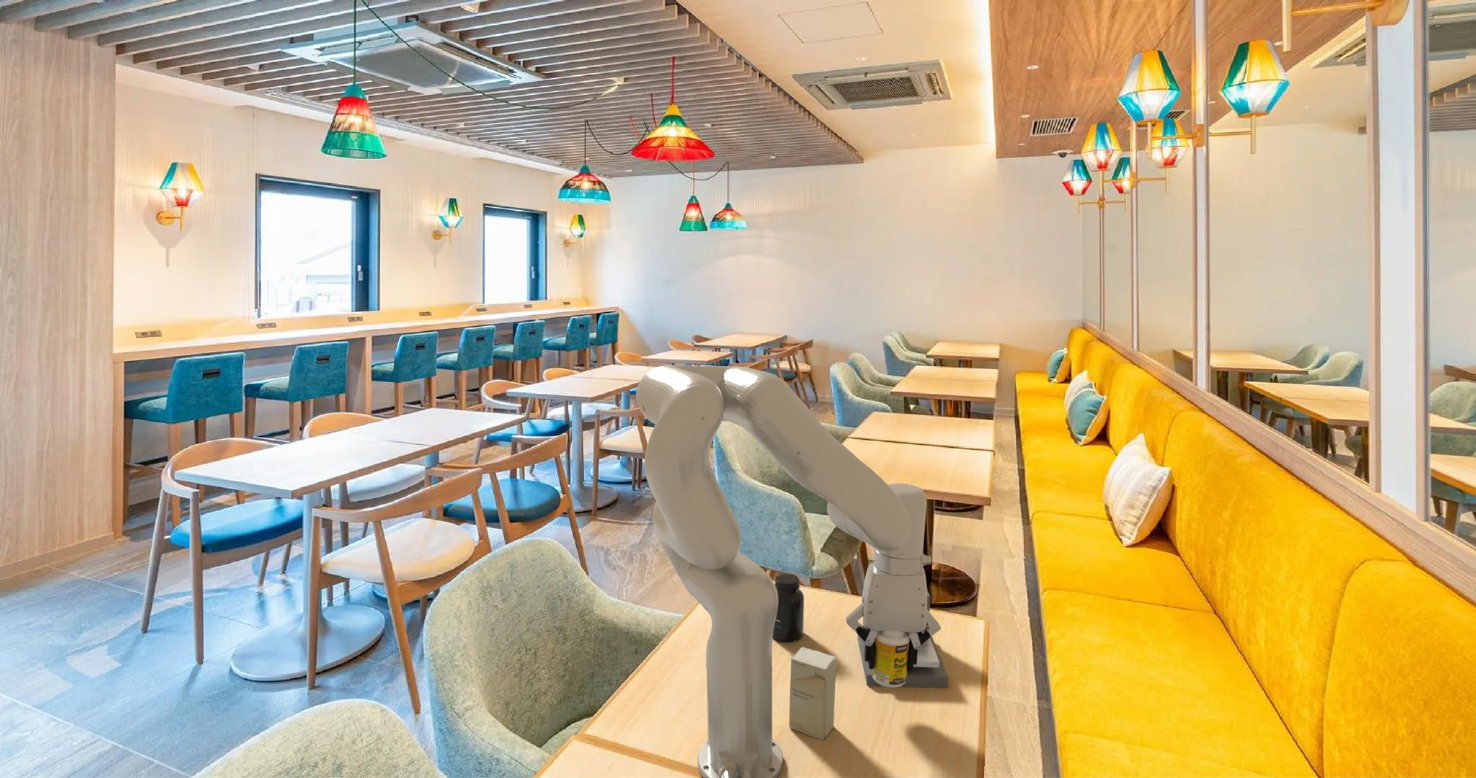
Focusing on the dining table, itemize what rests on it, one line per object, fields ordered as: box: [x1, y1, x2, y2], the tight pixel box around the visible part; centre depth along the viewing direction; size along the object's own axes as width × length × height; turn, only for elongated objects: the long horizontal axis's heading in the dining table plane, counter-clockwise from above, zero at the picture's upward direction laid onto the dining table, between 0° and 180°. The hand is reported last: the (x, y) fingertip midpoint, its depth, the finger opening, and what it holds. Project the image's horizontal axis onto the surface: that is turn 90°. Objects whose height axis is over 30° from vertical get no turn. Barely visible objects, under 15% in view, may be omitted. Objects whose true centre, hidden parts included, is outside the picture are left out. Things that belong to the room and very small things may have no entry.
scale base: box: [857, 589, 949, 689], centre depth 132 cm, size 16×14×11 cm
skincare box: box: [788, 646, 837, 741], centre depth 113 cm, size 6×4×12 cm
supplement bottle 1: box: [773, 573, 805, 643], centre depth 142 cm, size 7×7×12 cm
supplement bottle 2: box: [872, 631, 909, 689], centre depth 117 cm, size 6×6×10 cm
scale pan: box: [874, 635, 939, 667], centre depth 129 cm, size 9×11×2 cm
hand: (889, 665), depth 117 cm, fingers closed on supplement bottle 2, 5 cm apart
